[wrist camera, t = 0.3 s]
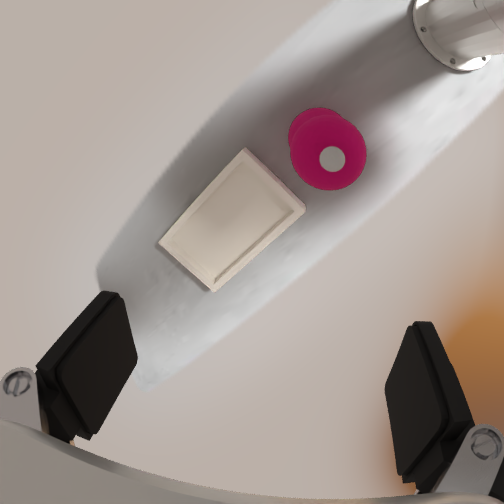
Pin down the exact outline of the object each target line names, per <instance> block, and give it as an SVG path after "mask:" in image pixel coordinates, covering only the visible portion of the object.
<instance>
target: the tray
mask: <svg viewBox="0 0 504 504" xmlns="http://www.w3.org/2000/svg"><path fill="white" fill-rule="evenodd" d="M305 212H306V205H305V204H304V203H303V202H302V201H301V200H300V199H299V198H298V197H297V196H296V195H295V194H294V193H293V192H292V191H291V190H290V189H289V188H288V187H287V186H286V185H285V184H284V183H283V182H282V181H280V180H279V179H278V178H277V177H276V176H275V175H274V174H273V173H272V172H271V171H270V170H269V169H268V168H267V167H266V166H265V165H264V164H263V163H262V162H261V161H260V160H259V159H258V158H257V157H256V156H255V155H253V154H252V153H251V152H250V151H249V150H248V149H247V148H246V147H245V148H244V149H242V150H241V151H240V152H239V153H238V154H237V155H236V156H235V157H234V158H233V160H232V161H231V162H230V163H229V164H228V165H227V166H226V167H225V168H224V169H223V170H222V171H221V172H220V173H219V174H218V176H217V177H216V178H215V179H214V180H213V181H212V182H211V183H210V184H209V185H208V186H207V187H206V189H205V190H204V191H203V192H202V193H201V194H200V195H199V196H198V197H197V199H196V200H195V201H194V202H193V203H192V204H191V205H190V206H189V208H188V209H187V210H186V211H185V212H184V213H183V214H182V215H181V217H180V218H179V219H178V220H177V221H176V222H175V224H174V225H173V226H172V227H171V228H170V229H169V230H168V232H167V233H166V234H165V235H164V236H163V238H162V239H161V240H160V241H159V242H158V243H159V244H160V245H161V246H162V247H163V248H164V249H166V250H167V251H168V252H169V253H170V254H171V255H172V256H173V257H174V258H175V259H177V260H178V261H179V262H180V263H181V264H182V265H183V266H184V267H186V268H187V269H188V270H189V271H190V272H191V273H192V274H193V275H195V276H196V277H197V278H198V279H199V280H200V281H201V282H203V283H204V284H205V285H206V286H207V287H208V288H210V289H211V290H212V291H213V292H214V293H215V292H216V291H217V290H218V289H219V288H221V287H222V286H223V285H224V284H225V283H226V282H227V281H228V280H230V279H231V278H232V277H233V276H234V275H235V274H236V273H238V272H239V271H240V270H241V269H242V268H243V267H244V266H245V265H247V264H248V263H249V262H250V261H251V260H252V259H253V258H254V257H256V256H257V255H258V254H259V253H260V252H261V251H262V250H263V249H265V248H266V247H267V246H268V245H269V244H270V243H271V242H272V241H274V240H275V239H276V238H277V237H278V236H279V235H280V234H281V233H283V232H284V231H285V230H286V229H287V228H288V227H289V226H290V225H292V224H293V223H294V222H295V221H296V220H297V219H298V218H299V217H301V216H302V215H303V214H304V213H305Z"/></svg>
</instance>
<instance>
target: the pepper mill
mask: <svg viewBox="0 0 504 504" xmlns="http://www.w3.org/2000/svg"><path fill="white" fill-rule="evenodd" d="M288 141H289V146H290V155H291V160H292V164H293V166H294V169H295V171H296V172H297V173H298V175H299V176H300V177H301V178H302V179H303V180H304V181H305V182H306V183H308V184H309V185H311V186H313V187H315V188H318V189H321V190H338V189H342V188H345V187H347V186H348V185H350V184H352V183H353V182H354V181H355V180H356V179H357V178H358V177H359V176H360V174H361V172H362V170H363V168H364V165H365V162H366V146H365V142H364V140H363V137H362V135H361V134H360V132H359V131H358V130H357V129H356V127H355V126H354V125H352V124H351V123H350V122H349V121H347V120H345V119H343V118H342V117H341V116H340V115H339V114H338V113H336V112H334V111H332V110H330V109H326V108H312V109H308V110H306V111H304V112H302V113H301V114H299V115H298V116H297V117H296V118H295V120H294V121H293V122H292V124H291V126H290V129H289V134H288Z"/></svg>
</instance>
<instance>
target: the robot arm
mask: <svg viewBox="0 0 504 504" xmlns="http://www.w3.org/2000/svg"><path fill="white" fill-rule="evenodd" d="M412 14H413V23H414V26H415V30H416V32H417V34H418V37H419V39H420V40H421V42H422V43H423V45H424V46H425V48H426V49H427V50H428V51H429V53H431V54H432V55H433V56H434V57H435V58H436V59H437V60H438V61H440V62H441V63H443V64H444V65H446V66H448V67H450V68H453V69H456V70H460V71H472V70H476V69H479V68H481V67H483V66H484V65H485V64H487V63H488V61H489V60H490V58H491V56H492V55H497V54H504V0H416V1H415V3H414V6H413V13H412ZM420 29H422V30H423V32H422V31H421V30H420ZM481 58H482V59H481ZM450 61H451V63H450ZM137 359H138V356H137V352H136V348H135V344H134V340H133V336H132V333H131V329H130V324H129V320H128V316H127V312H126V307H125V303H124V300H123V298H120V295H119V294H118V293H115V292H109V291H101V292H100V293H99V294H98V295H97V296H96V297H95V299H94V300H93V301H92V302H91V303H90V304H89V305H88V306H87V307H86V308H85V310H84V311H83V312H82V313H81V314H80V315H79V316H78V317H77V318H76V319H75V320H74V322H73V323H72V324H71V325H70V326H69V327H68V328H67V330H66V331H65V332H64V333H63V334H62V335H61V336H60V337H59V339H58V340H57V341H56V342H55V343H54V345H53V346H52V347H51V348H50V349H49V350H48V352H47V353H46V354H45V355H44V356H43V358H42V359H41V360H40V361H39V362H38V363H37V365H36V367H37V371H36V372H35V373H34V372H33V371H32V370H31V369H29V368H24V367H20V368H16V369H13V370H11V371H9V372H8V373H6V374H5V376H4V377H3V378H2V380H1V382H0V504H504V437H503V435H502V434H501V432H500V431H499V430H498V429H496V428H495V427H493V426H491V425H488V424H479V425H476V426H475V424H474V421H473V418H472V415H471V412H470V409H469V406H468V404H467V401H466V398H465V396H464V393H463V390H462V388H461V386H460V383H459V380H458V378H457V376H456V373H455V370H454V368H453V366H452V364H451V363H450V361H449V359H448V356H447V354H446V352H445V349H444V347H443V345H442V343H441V340H440V338H439V336H438V334H437V332H436V330H435V327H434V325H433V324H432V322H425V321H415V322H414V323H413V325H412V326H408V328H407V330H406V333H405V335H404V338H403V341H402V344H401V346H400V349H399V351H398V354H397V357H396V359H395V362H394V364H393V367H392V369H391V372H390V374H389V376H388V379H387V381H386V384H385V396H386V401H387V407H388V413H389V419H390V424H391V431H392V437H393V444H394V451H395V459H396V467H397V473H398V475H400V476H401V475H402V480H403V483H411V482H415V484H416V489H417V491H416V492H415V493H414V495H406V496H396V497H384V498H365V499H301V498H286V497H273V496H263V495H255V494H247V493H240V492H233V491H227V490H221V489H215V488H210V487H205V486H199V485H195V484H191V483H186V482H181V481H178V480H174V479H170V478H166V477H162V476H158V475H155V474H151V473H148V472H145V471H141V470H138V469H135V468H131V467H129V466H126V465H122V464H119V463H117V462H114V461H111V460H108V459H106V458H103V457H100V456H97V455H95V454H93V453H90V452H88V451H85V450H83V449H80V448H77V447H75V444H74V440H73V439H74V437H75V435H77V436H79V437H82V438H84V439H87V440H90V439H91V437H92V435H93V434H97V433H98V431H99V430H100V428H101V426H102V424H103V422H104V420H105V419H106V417H107V415H108V413H109V412H110V410H111V408H112V406H113V404H114V403H115V401H116V399H117V397H118V396H119V394H120V392H121V390H122V388H123V386H124V384H125V383H126V381H127V380H128V378H129V376H130V375H131V373H132V371H133V369H134V368H135V366H136V364H137Z"/></svg>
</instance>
